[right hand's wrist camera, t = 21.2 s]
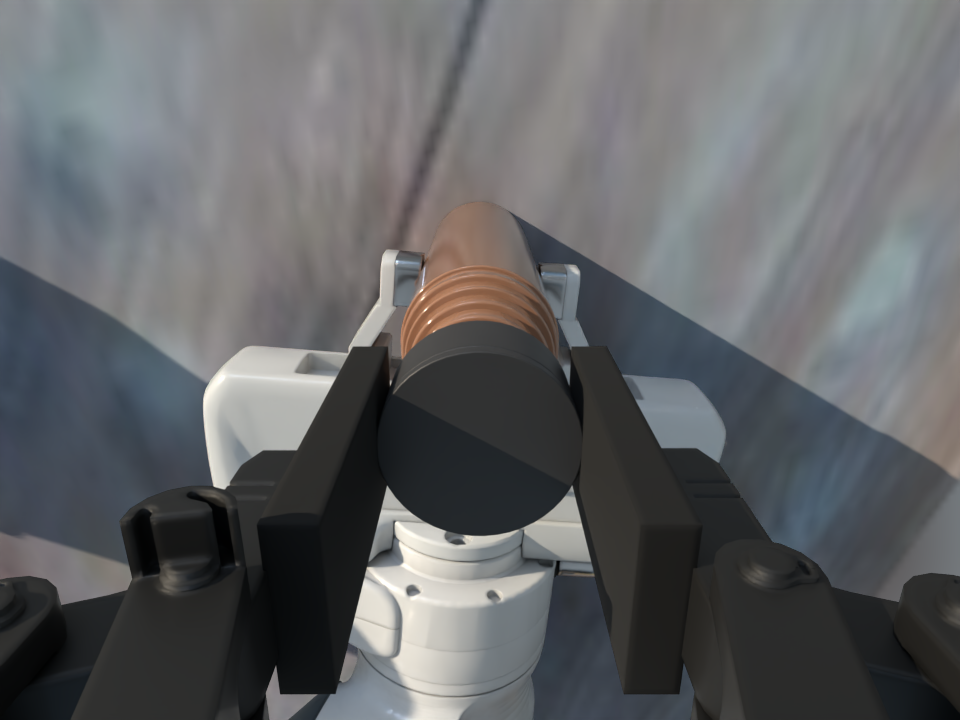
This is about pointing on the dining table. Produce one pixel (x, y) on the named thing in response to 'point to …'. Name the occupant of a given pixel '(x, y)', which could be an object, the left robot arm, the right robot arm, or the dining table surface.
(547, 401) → the cap
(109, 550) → the dining table surface
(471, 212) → the bottle
